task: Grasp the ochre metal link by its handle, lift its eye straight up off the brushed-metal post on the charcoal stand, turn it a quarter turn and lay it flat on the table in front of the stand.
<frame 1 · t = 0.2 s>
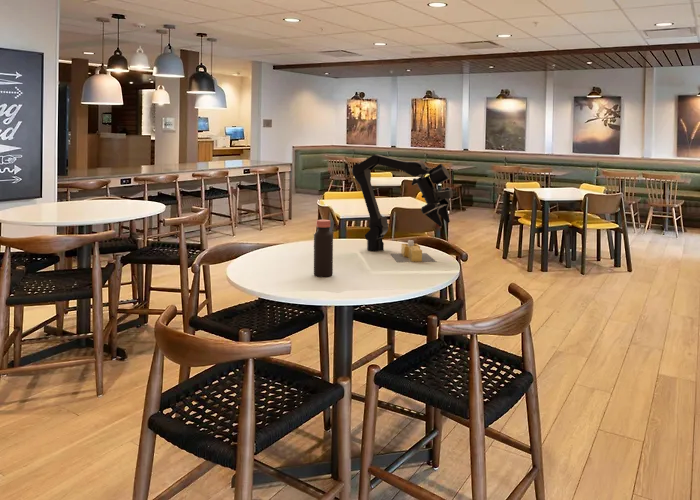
hand: (445, 224, 250), 15 cm above the table, fingers open, 9 cm apart
bottle: (323, 275, 222), on the table
stand: (412, 260, 250), on the table
link: (412, 257, 250), point 1 cm above the table, touching stand
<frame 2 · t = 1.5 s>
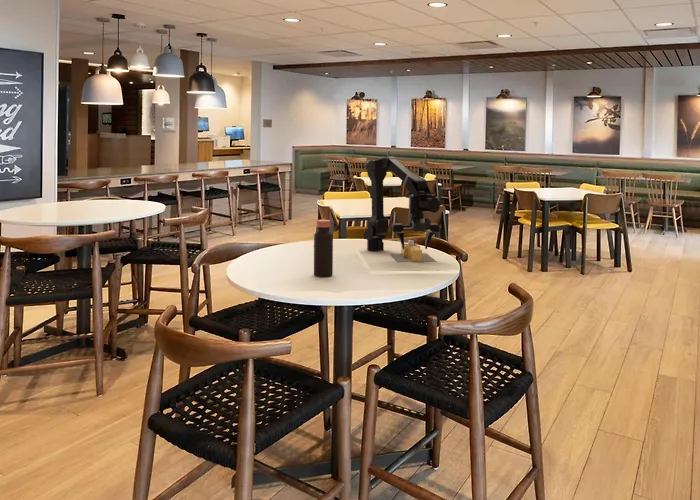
hand: (414, 248, 245), 6 cm above the table, fingers open, 9 cm apart
nothing on the table moved.
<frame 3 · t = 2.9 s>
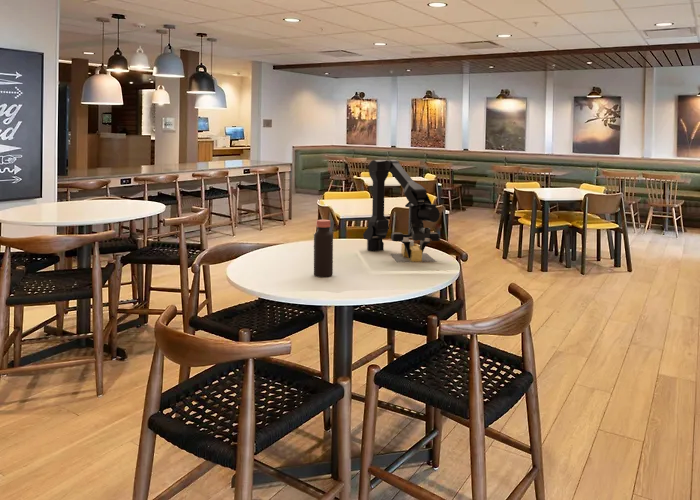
hand: (414, 257, 246), 2 cm above the table, fingers closed on link, 4 cm apart
link: (412, 257, 250), point 1 cm above the table, touching gripper, stand
everything else where it was.
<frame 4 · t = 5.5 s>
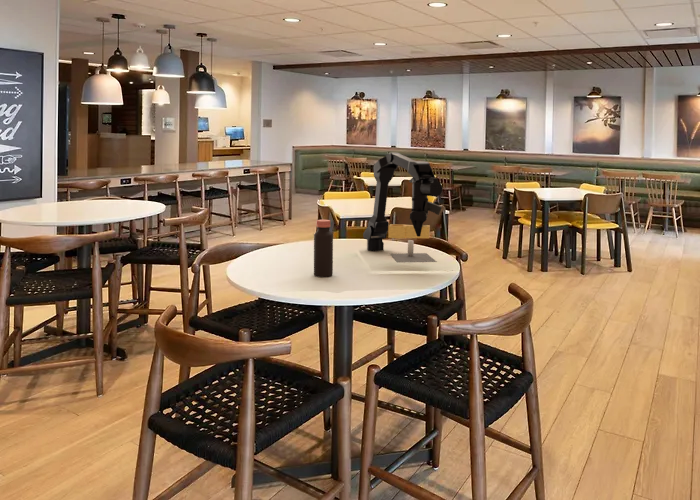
hand: (418, 235, 236), 12 cm above the table, fingers closed on link, 4 cm apart
link: (408, 237, 237), point 12 cm above the table, touching gripper
everything else where it was.
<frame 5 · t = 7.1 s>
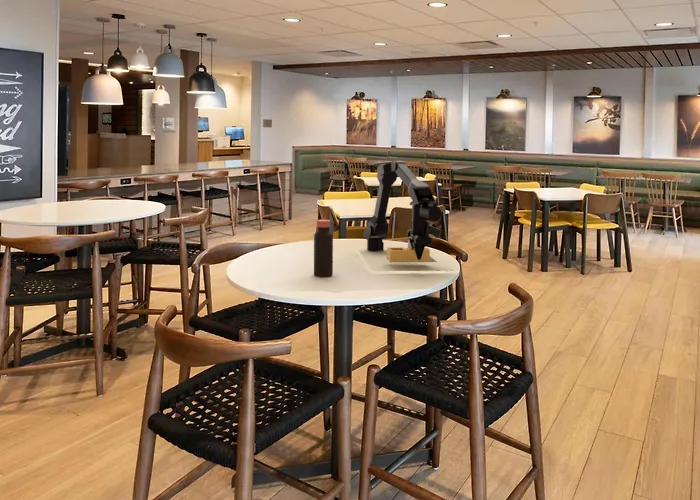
hand: (418, 258, 235), 4 cm above the table, fingers closed on link, 4 cm apart
link: (407, 260, 235), point 3 cm above the table, touching gripper
everything else where it was.
when the fingers open (2 cm above the table, at t = 8.2 s): link drops 1 cm, on the table.
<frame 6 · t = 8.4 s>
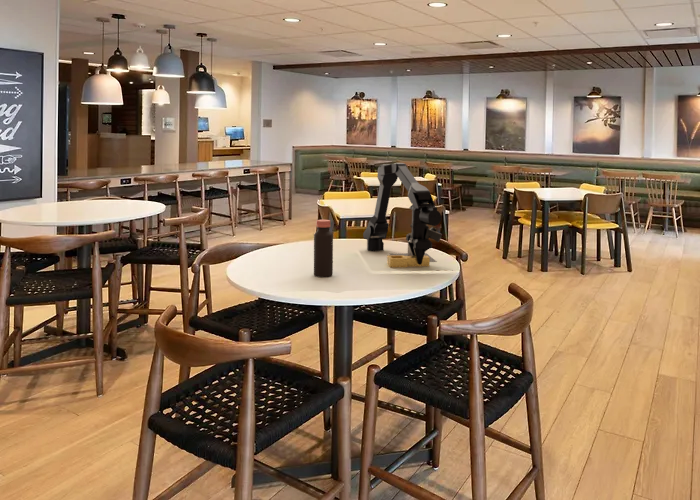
hand: (417, 262, 235), 2 cm above the table, fingers open, 6 cm apart
link: (407, 268, 235), on the table
everything else where it was.
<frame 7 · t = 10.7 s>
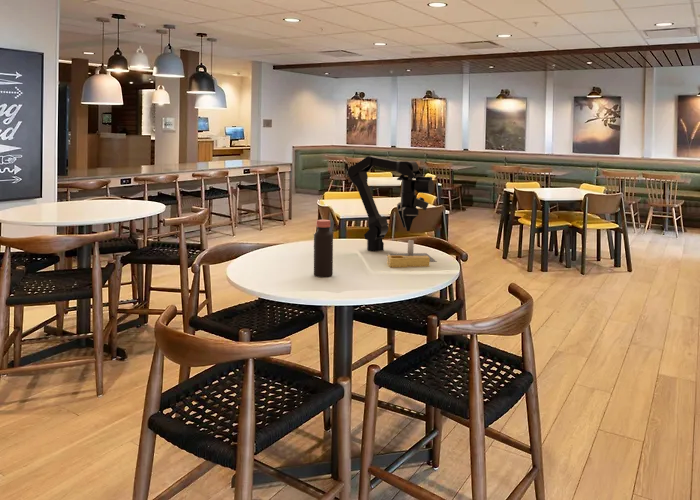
hand: (406, 229, 255), 12 cm above the table, fingers open, 9 cm apart
nothing on the table moved.
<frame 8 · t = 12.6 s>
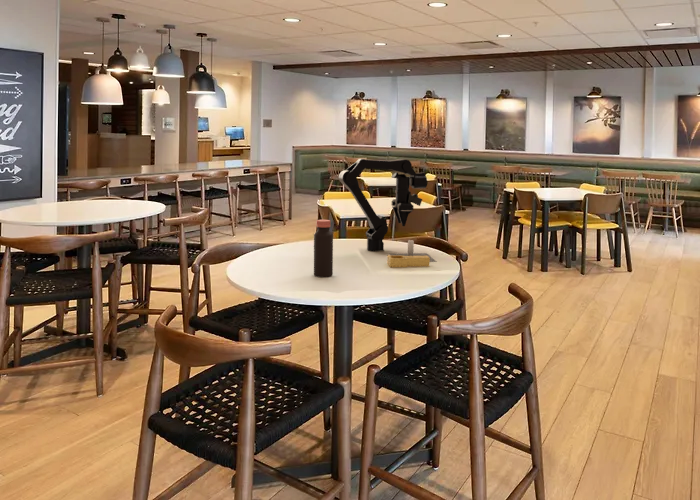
hand: (401, 224, 266), 12 cm above the table, fingers open, 9 cm apart
nothing on the table moved.
at the end: link inside the target area (1.8 cm from its centre), on the table; link tilted 0°; the gripper is holding nothing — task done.
